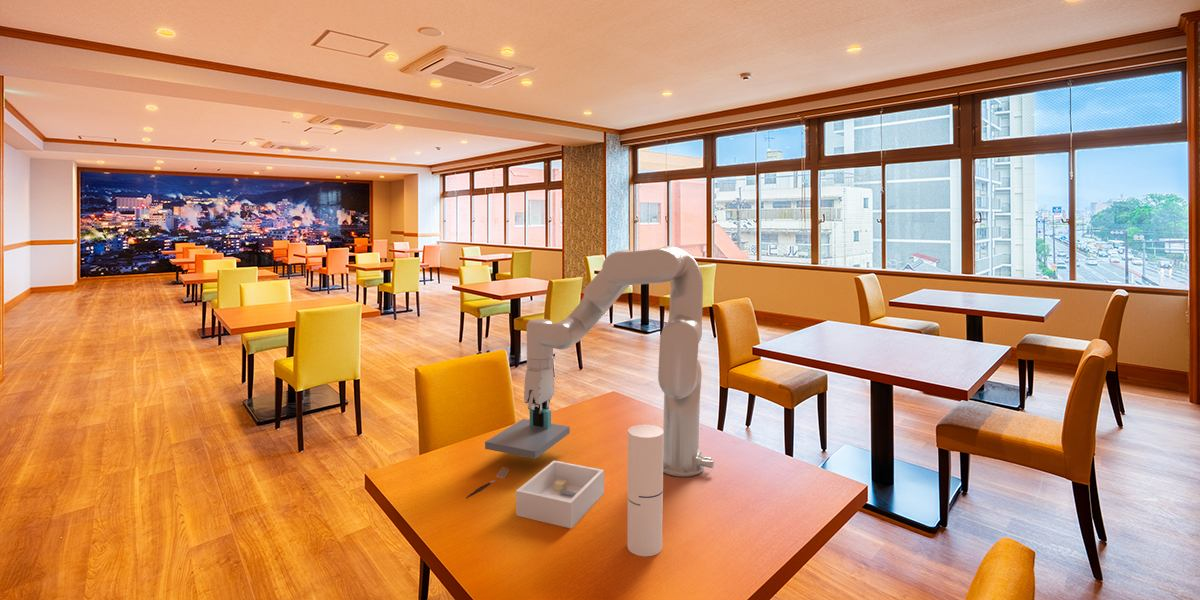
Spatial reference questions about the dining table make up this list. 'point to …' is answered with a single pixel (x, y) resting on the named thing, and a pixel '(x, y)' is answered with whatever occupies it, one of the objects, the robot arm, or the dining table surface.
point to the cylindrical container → (645, 489)
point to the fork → (488, 483)
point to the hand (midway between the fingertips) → (540, 424)
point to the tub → (560, 493)
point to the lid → (528, 437)
